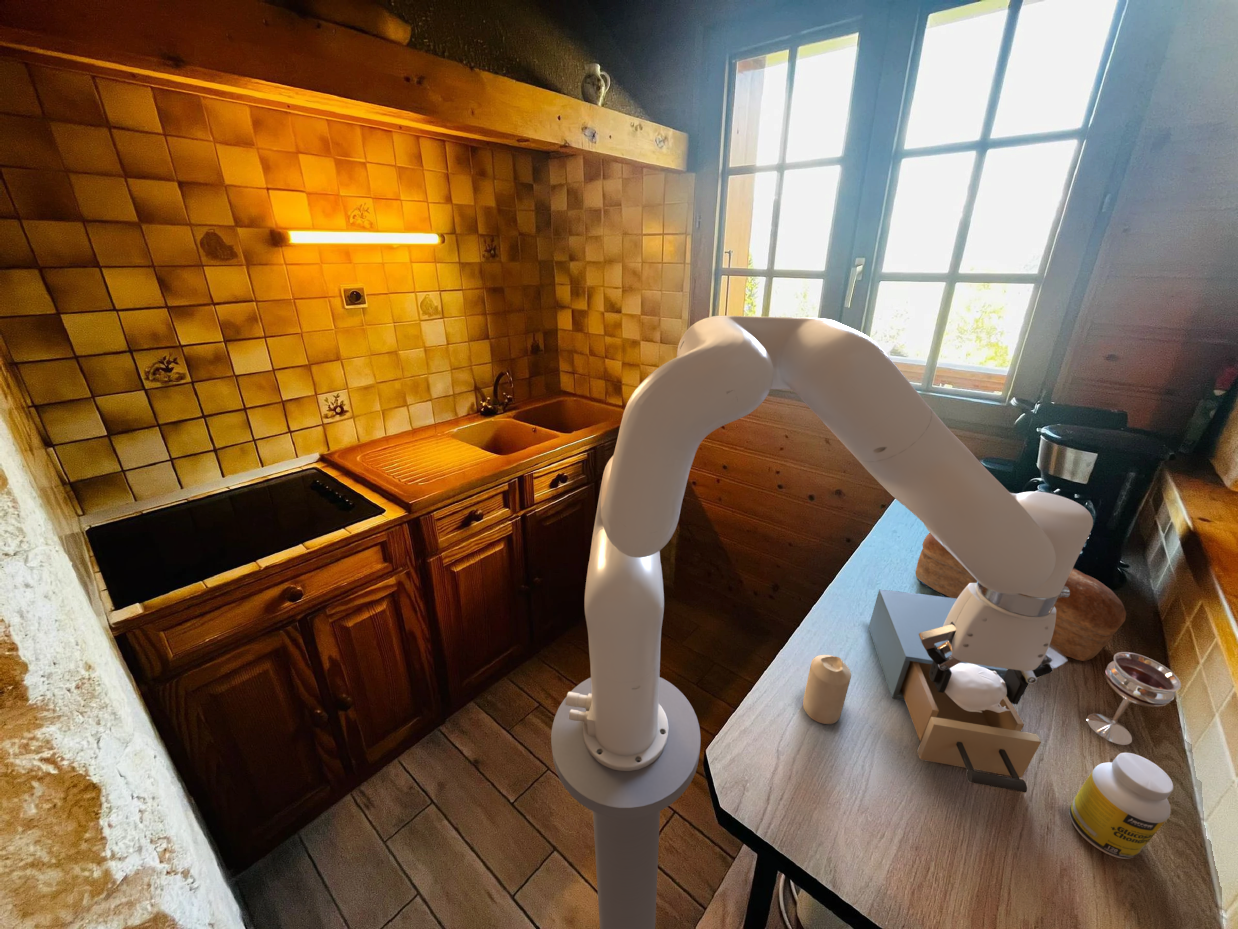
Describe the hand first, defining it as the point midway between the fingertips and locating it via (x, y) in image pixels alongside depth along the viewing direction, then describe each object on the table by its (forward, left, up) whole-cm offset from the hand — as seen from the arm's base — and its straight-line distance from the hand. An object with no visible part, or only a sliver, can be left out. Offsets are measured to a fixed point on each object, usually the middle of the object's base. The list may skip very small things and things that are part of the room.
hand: (972, 689), depth 67 cm
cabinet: (0, +13, -10) cm, 16 cm away
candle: (-18, +1, -10) cm, 21 cm away
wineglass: (+23, +6, -10) cm, 26 cm away
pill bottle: (+13, -10, -10) cm, 19 cm away
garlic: (0, 0, -1) cm, 1 cm away
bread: (+19, +31, -10) cm, 38 cm away
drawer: (0, -1, -9) cm, 9 cm away
